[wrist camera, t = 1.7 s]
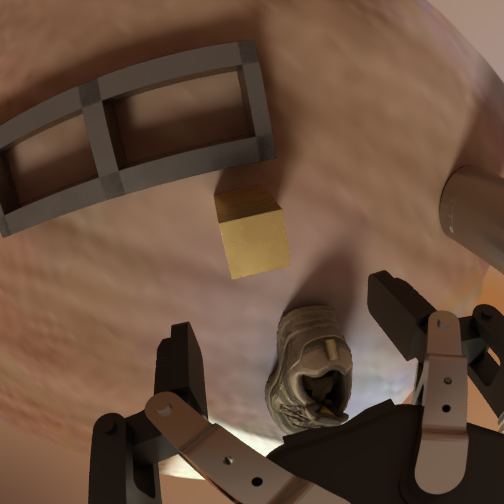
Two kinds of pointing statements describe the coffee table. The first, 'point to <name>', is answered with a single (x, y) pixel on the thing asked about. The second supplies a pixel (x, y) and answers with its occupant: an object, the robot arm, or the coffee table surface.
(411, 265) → the coffee table surface
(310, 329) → the hiking shoe
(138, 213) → the coffee table surface
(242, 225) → the block
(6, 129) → the dark grey rectangular tray
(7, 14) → the coffee table surface
